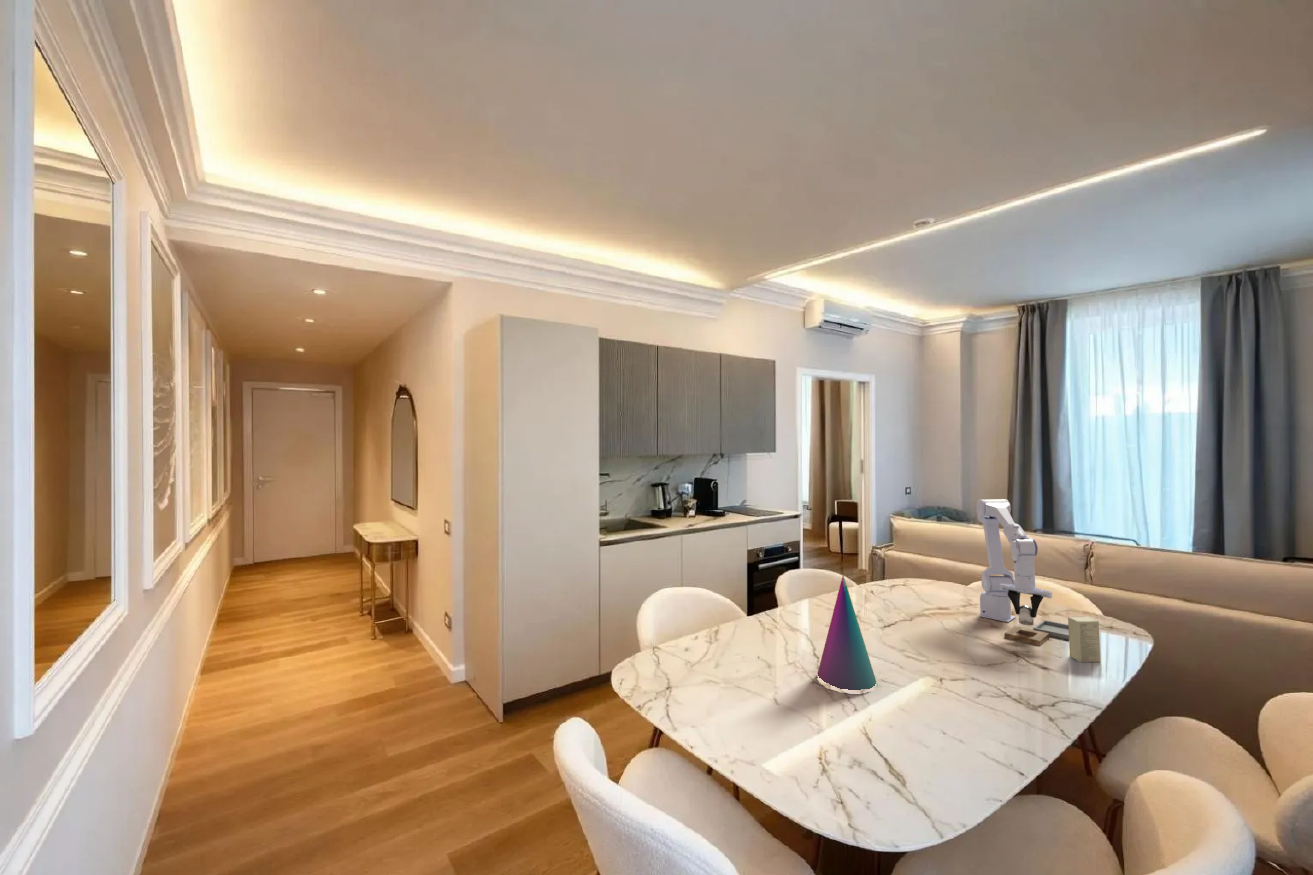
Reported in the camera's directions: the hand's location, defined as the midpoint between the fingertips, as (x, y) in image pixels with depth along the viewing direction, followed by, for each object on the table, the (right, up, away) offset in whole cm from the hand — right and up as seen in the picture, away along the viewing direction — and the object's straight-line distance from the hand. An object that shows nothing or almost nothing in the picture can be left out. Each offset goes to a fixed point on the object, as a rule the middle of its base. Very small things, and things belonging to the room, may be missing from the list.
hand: (1025, 615), depth 177 cm
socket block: (0, -7, 0) cm, 7 cm away
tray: (+14, -7, +4) cm, 16 cm away
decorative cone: (-71, -9, -29) cm, 77 cm away
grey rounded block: (0, -3, 0) cm, 3 cm away
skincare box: (+5, -7, -18) cm, 20 cm away
